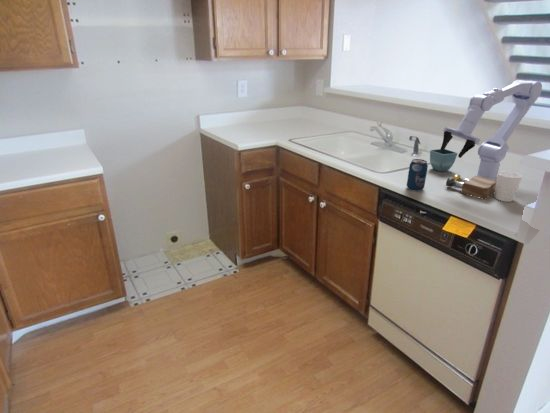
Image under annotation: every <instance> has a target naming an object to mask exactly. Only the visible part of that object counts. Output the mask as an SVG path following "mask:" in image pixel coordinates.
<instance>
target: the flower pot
mask: <svg viewBox="0 0 550 413" xmlns="http://www.w3.org/2000/svg"><path fill="white" fill-rule="evenodd" d="M458 155H459V153H458V152H456V151H453V150H449V149H446V148H445V149H444V151H442V150H441V148H438V149H430V151H429V162H430V166H431V168H432V169H434V170H436V171H439V172H445V171H449V170H450V169H451V168H452V167H453V166H454V164H455V161H456V159H457V157H458Z"/></svg>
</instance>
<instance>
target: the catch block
mask: <svg viewBox="0 0 550 413" xmlns="http://www.w3.org/2000/svg"><path fill="white" fill-rule="evenodd" d="M468 179H469V180H467V181H466V182H464V183H463V186H462V188H461V193H464V194H463V195H465V194H468V195H467V196H469V195H472V196H471V197H473V196H476V197H475V198H477V197H480V198H479V199H481V198H483V199H482V200H484V199H485V198H486V199H487V198H489V197H490V196H491V194H492V195H493V194H495V187H496V181H497V180H493V179H488V178H484V177H480V176H477V175H474V176H473V177H471V178H468ZM461 193H460V194H461ZM488 196H489V197H488ZM486 199H485V200H486Z"/></svg>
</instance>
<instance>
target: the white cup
mask: <svg viewBox="0 0 550 413" xmlns="http://www.w3.org/2000/svg"><path fill="white" fill-rule="evenodd" d="M522 177H523V176H522V174H520V173H517V172H515V171H510V170H509V171H505V170H501V171H498V174H497V181H496V187H495V192H494V193H493V194H494V195H493V198H494V197H495V198H496V200H497V199H498V201H500V200H501V202H506V203H507V202H508V203H509V202H513V201H514V199H515V196H516V194H517V192H518V189H519V186H520V183H521V180H522ZM495 198H494V199H495Z"/></svg>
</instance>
